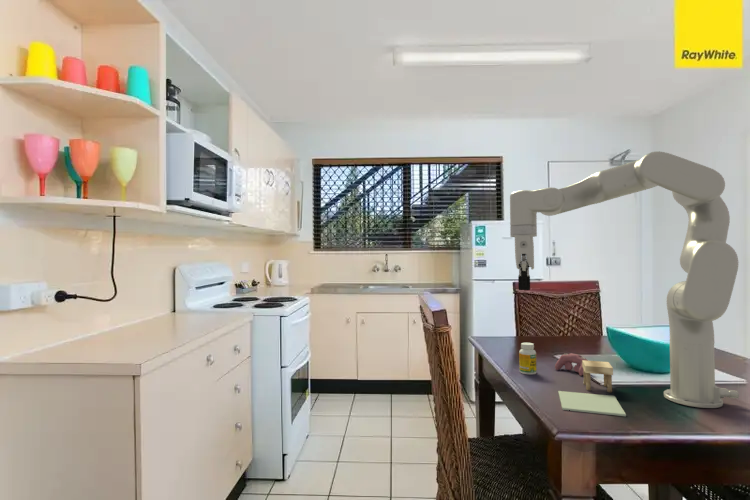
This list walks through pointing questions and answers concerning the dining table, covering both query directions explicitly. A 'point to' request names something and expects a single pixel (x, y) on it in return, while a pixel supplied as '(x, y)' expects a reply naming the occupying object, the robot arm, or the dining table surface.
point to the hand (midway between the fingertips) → (524, 288)
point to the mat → (590, 403)
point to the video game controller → (569, 359)
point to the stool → (597, 368)
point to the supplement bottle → (527, 359)
